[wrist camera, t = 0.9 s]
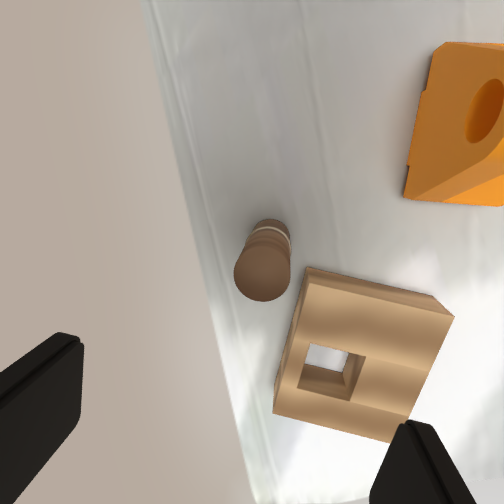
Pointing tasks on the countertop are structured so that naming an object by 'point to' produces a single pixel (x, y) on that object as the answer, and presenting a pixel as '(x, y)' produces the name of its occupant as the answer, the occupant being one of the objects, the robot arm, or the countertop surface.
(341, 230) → the countertop surface
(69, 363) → the robot arm
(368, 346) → the board
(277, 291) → the peg
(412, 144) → the bracket
